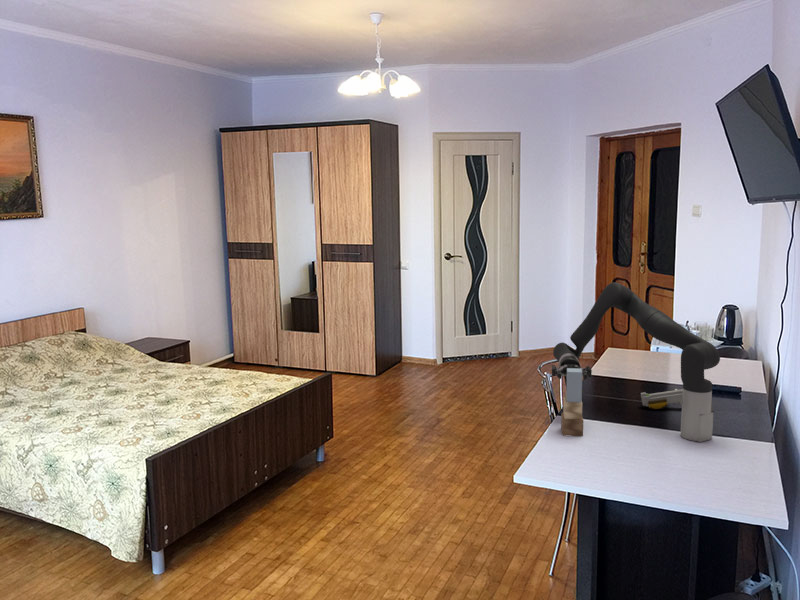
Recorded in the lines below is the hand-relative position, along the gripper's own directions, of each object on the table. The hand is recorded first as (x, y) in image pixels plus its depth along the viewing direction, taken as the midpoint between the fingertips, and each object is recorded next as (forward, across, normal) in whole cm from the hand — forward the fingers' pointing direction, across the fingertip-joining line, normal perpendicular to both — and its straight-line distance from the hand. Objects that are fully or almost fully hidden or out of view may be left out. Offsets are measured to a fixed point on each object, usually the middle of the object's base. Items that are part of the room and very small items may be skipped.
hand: (572, 376), depth 236 cm
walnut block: (+4, 0, +20) cm, 20 cm away
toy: (-27, +42, +20) cm, 54 cm away
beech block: (+4, 0, +14) cm, 14 cm away
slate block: (+4, 0, +8) cm, 8 cm away
